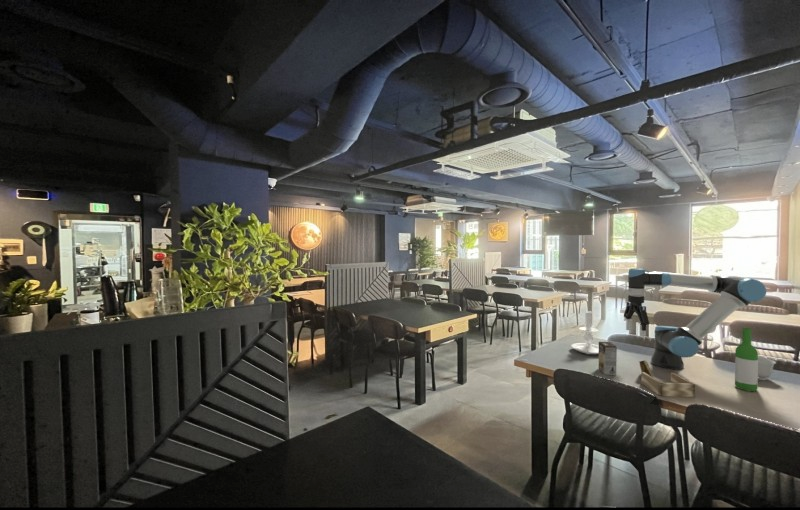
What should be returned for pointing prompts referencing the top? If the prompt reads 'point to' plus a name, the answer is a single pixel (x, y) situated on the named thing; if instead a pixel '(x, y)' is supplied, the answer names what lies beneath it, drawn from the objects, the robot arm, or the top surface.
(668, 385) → the box
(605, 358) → the coffee box
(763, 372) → the teacup
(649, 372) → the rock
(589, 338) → the candlestick
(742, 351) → the wine bottle
